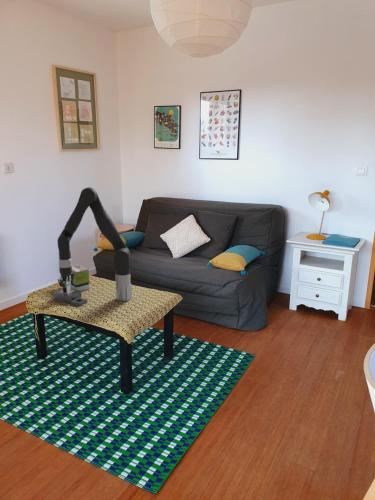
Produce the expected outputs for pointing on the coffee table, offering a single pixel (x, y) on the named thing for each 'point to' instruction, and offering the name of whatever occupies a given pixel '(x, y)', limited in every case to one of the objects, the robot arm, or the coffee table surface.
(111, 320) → the coffee table surface
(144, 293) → the coffee table surface
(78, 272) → the tea box
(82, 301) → the gray square frame
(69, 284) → the plug
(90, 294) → the coffee table surface
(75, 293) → the port
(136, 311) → the coffee table surface
